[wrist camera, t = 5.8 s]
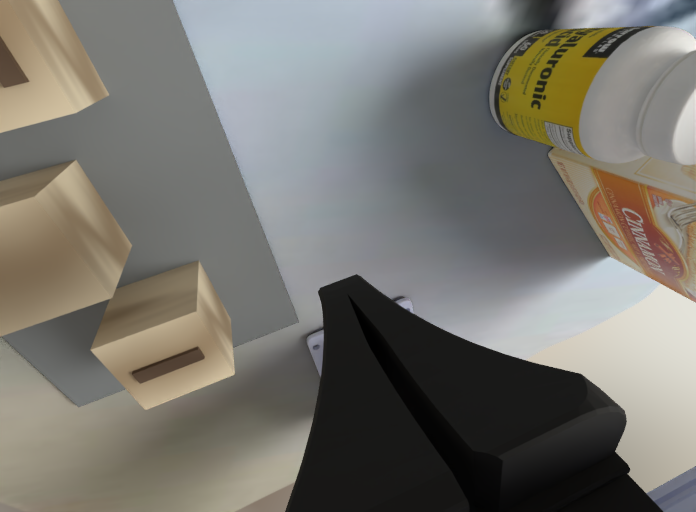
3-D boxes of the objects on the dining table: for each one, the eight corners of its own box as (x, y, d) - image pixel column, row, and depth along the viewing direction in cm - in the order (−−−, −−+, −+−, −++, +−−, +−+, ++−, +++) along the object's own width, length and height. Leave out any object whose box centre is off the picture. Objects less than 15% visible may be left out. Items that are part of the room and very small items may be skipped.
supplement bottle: (537, 4, 19) (779, -22, 11) (578, 75, 22) (793, 95, 14) (467, 95, 20) (638, 130, 12) (515, 150, 23) (678, 208, 15)
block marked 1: (230, 318, 22) (235, 377, 18) (156, 346, 21) (144, 413, 17) (198, 260, 19) (196, 314, 16) (113, 289, 19) (88, 353, 15)
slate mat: (297, 319, 24) (298, 322, 24) (80, 403, 22) (78, 407, 22) (111, -155, 12) (109, -159, 11) (-429, -71, 10) (-446, -74, 9)
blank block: (132, 245, 18) (112, 297, 14) (36, 276, 17) (-11, 340, 14) (75, 159, 15) (34, 196, 12) (-39, 192, 15) (-121, 242, 11)
